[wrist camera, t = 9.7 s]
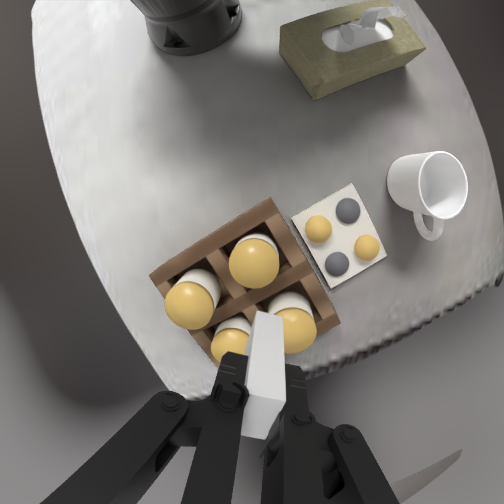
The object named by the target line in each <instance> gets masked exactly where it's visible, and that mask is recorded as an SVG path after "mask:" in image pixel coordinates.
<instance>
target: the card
mask: <svg viewBox="0 0 504 504" xmlns="http://www.w3.org/2000/svg"><path fill="white" fill-rule="evenodd" d="M291 219H292V220H293V222H294V224H295V225H296V227H297V229H298V231H299V232H300V234H301V236H302V237H303V239H304V241H305V243H306V244H307V246H308V248H309V250H310V252H311V253H312V255H313V257H314V259H315V260H316V262H317V264H318V266H319V268H320V270H321V271H322V273H323V275H324V277H325V279H326V280H327V282H328V284H329V286H330V288H333V287H335V286H336V285H338V284H340V283H342V282H343V281H345V280H347V279H349V278H350V277H352V276H354V275H355V274H357V273H359V272H361V271H362V270H364V269H366V268H367V267H369V266H371V265H372V264H374V263H376V262H377V261H379V260H380V259H382V258H384V257H385V256H387V254H386V252H385V250H384V247H383V245H382V243H381V241H380V238H379V236H378V234H377V232H376V230H375V227H374V225H373V223H372V221H371V219H370V217H369V215H368V213H367V211H366V209H365V207H364V205H363V203H362V201H361V199H360V197H359V195H358V193H357V191H356V189H355V187H354V185H353V184H352V183H350V184H349V185H347V186H345V187H343V188H342V189H340V190H338V191H336V192H335V193H333V194H331V195H330V196H328V197H326V198H324V199H323V200H321V201H319V202H317V203H316V204H314V205H312V206H311V207H309V208H307V209H305V210H304V211H302V212H300V213H298V214H297V215H295V216H293V217H292V218H291Z"/></svg>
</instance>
